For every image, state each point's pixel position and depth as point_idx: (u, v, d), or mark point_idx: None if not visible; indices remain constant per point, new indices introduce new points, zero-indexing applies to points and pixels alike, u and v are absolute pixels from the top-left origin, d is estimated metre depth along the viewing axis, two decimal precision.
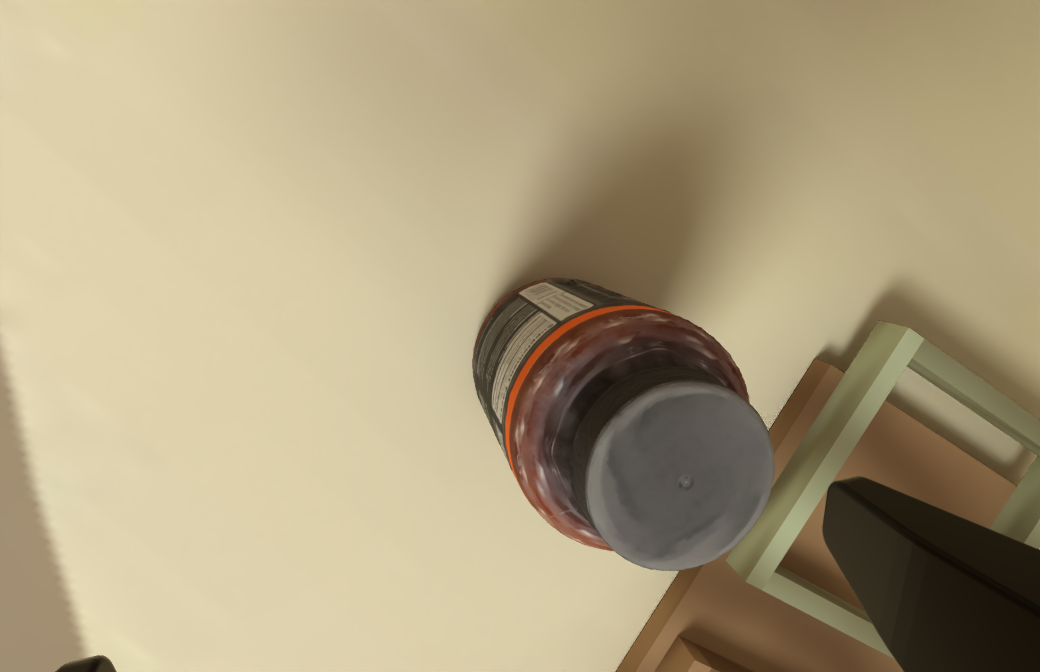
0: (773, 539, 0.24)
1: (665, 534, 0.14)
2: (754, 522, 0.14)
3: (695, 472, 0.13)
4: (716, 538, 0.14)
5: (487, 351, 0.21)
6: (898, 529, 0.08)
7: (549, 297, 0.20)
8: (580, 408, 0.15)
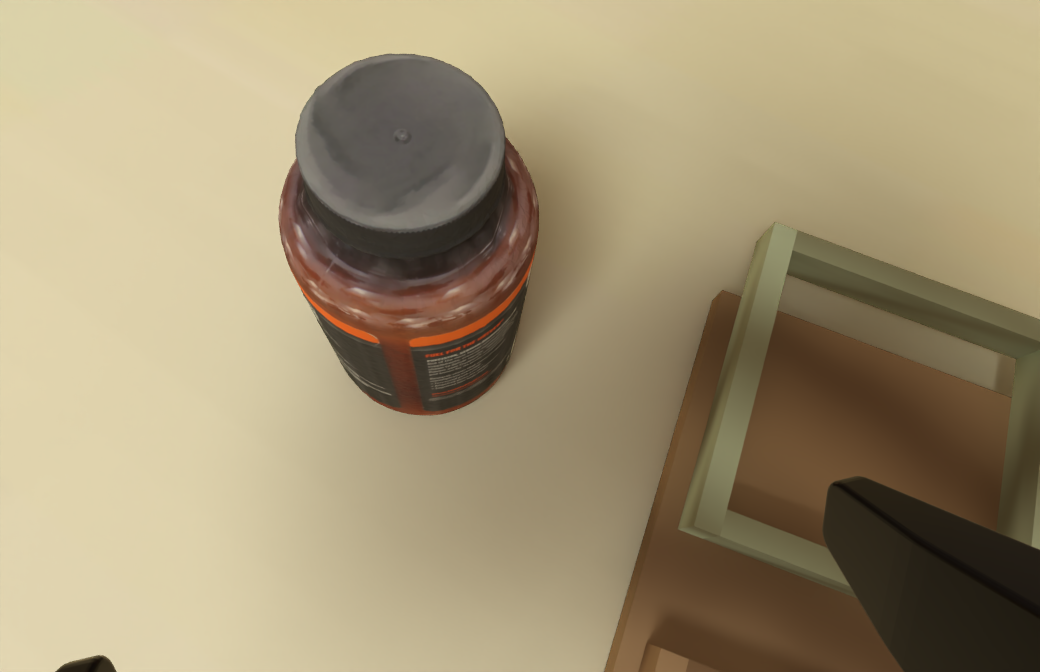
0: (710, 466, 0.20)
1: (389, 187, 0.13)
2: (492, 172, 0.13)
3: (411, 125, 0.13)
4: (450, 187, 0.13)
5: None
6: (898, 529, 0.08)
7: None
8: None
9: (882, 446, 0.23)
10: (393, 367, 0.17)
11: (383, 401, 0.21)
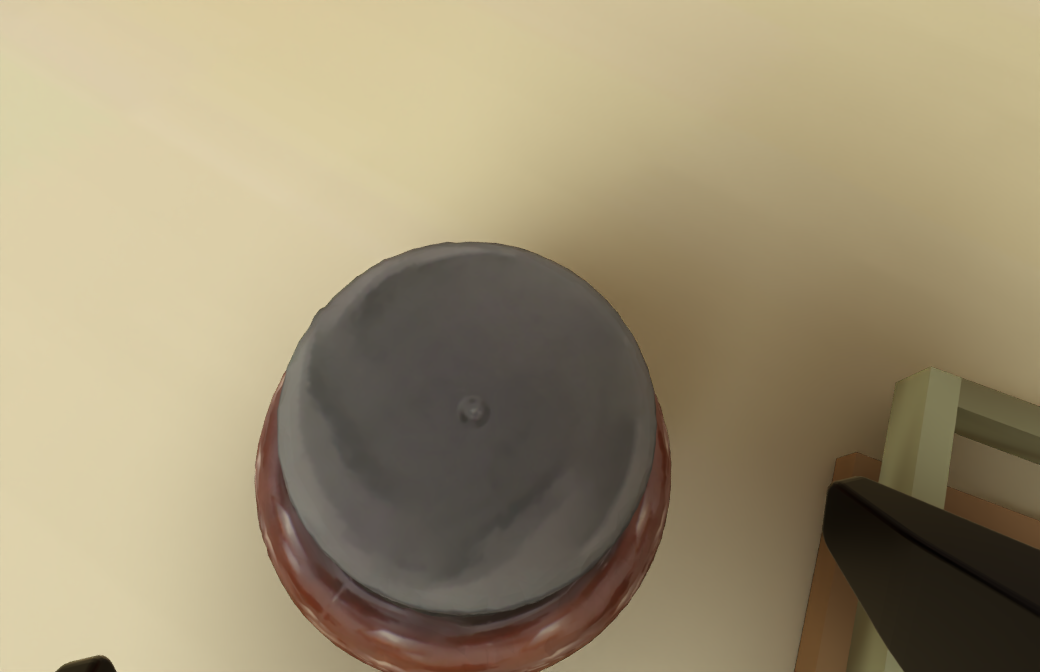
0: None
1: (454, 523, 0.07)
2: (640, 479, 0.07)
3: (489, 389, 0.07)
4: (566, 519, 0.07)
5: None
6: (898, 529, 0.08)
7: None
8: None
9: None
10: None
11: None
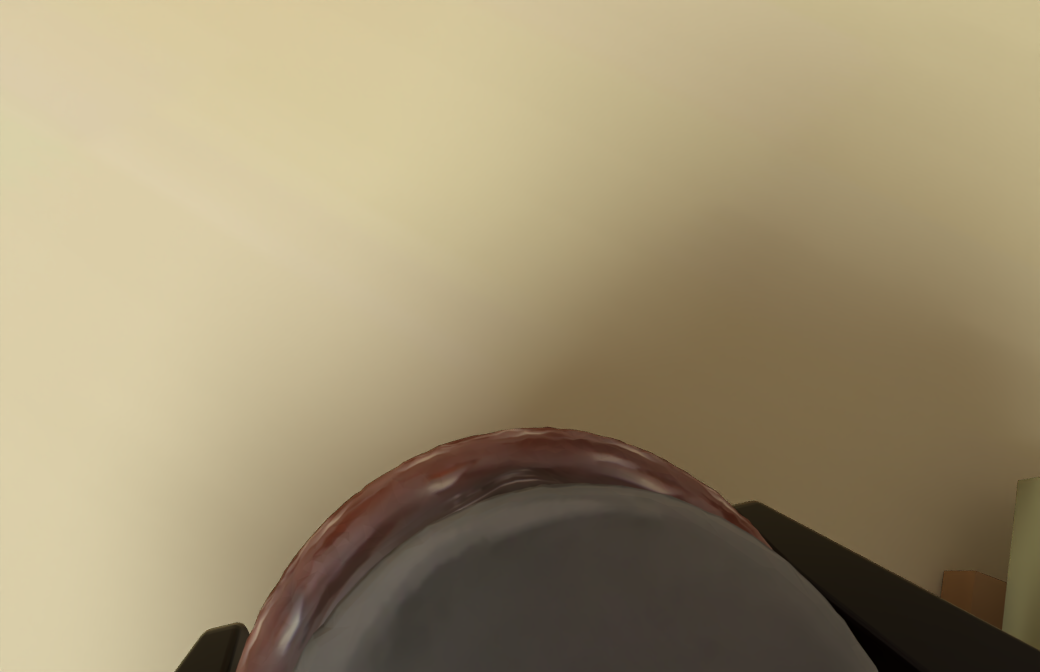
0: None
1: None
2: None
3: None
4: None
5: None
6: None
7: None
8: None
9: None
10: None
11: None
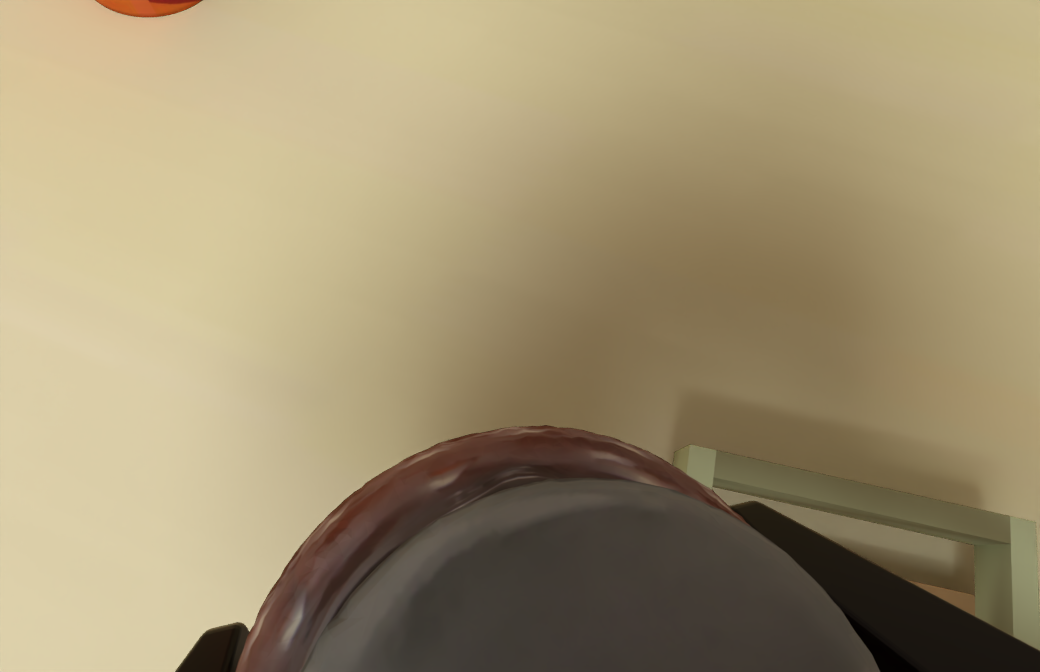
0: None
1: None
2: None
3: None
4: None
5: None
6: None
7: None
8: None
9: None
10: None
11: None
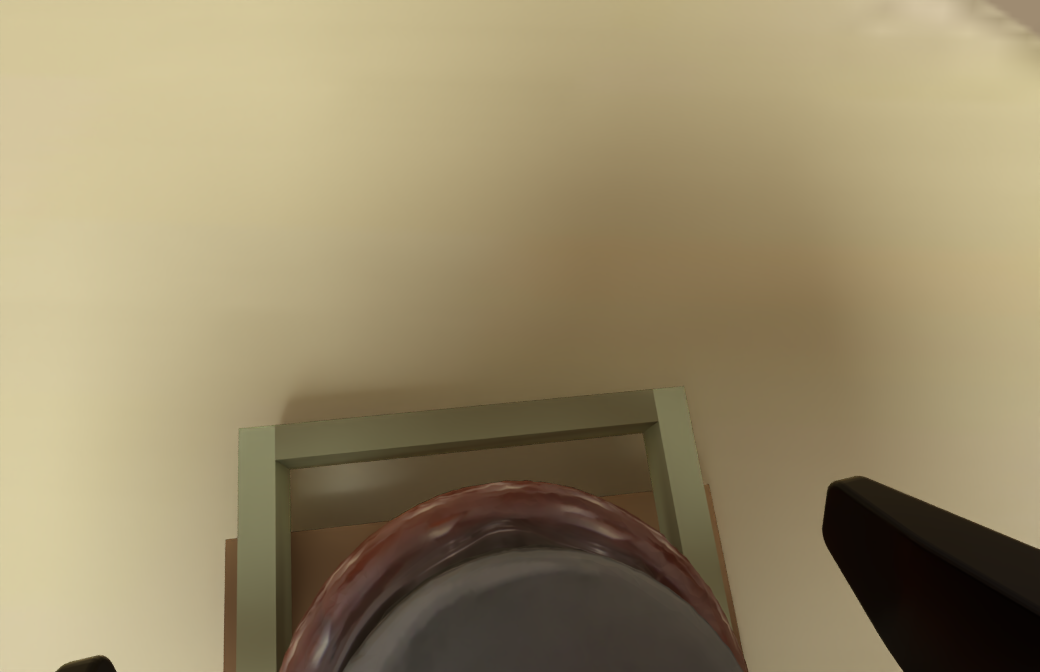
0: None
1: None
2: None
3: None
4: None
5: None
6: (898, 530, 0.08)
7: None
8: None
9: None
10: None
11: None
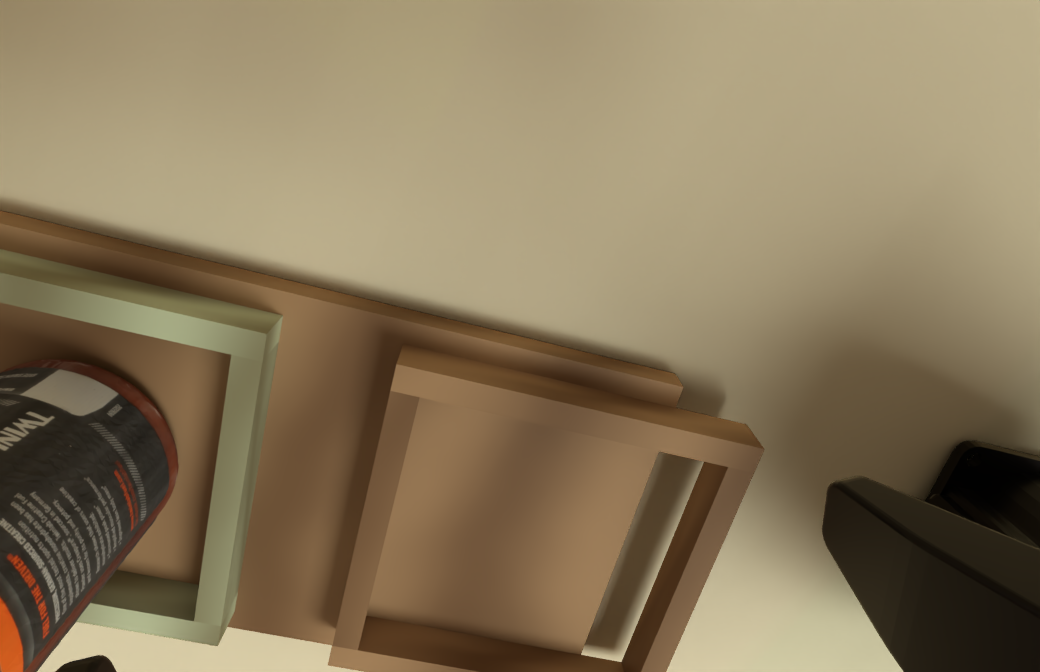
0: (156, 635, 0.21)
1: None
2: None
3: None
4: None
5: None
6: (898, 529, 0.08)
7: None
8: None
9: None
10: (68, 624, 0.16)
11: (145, 532, 0.20)
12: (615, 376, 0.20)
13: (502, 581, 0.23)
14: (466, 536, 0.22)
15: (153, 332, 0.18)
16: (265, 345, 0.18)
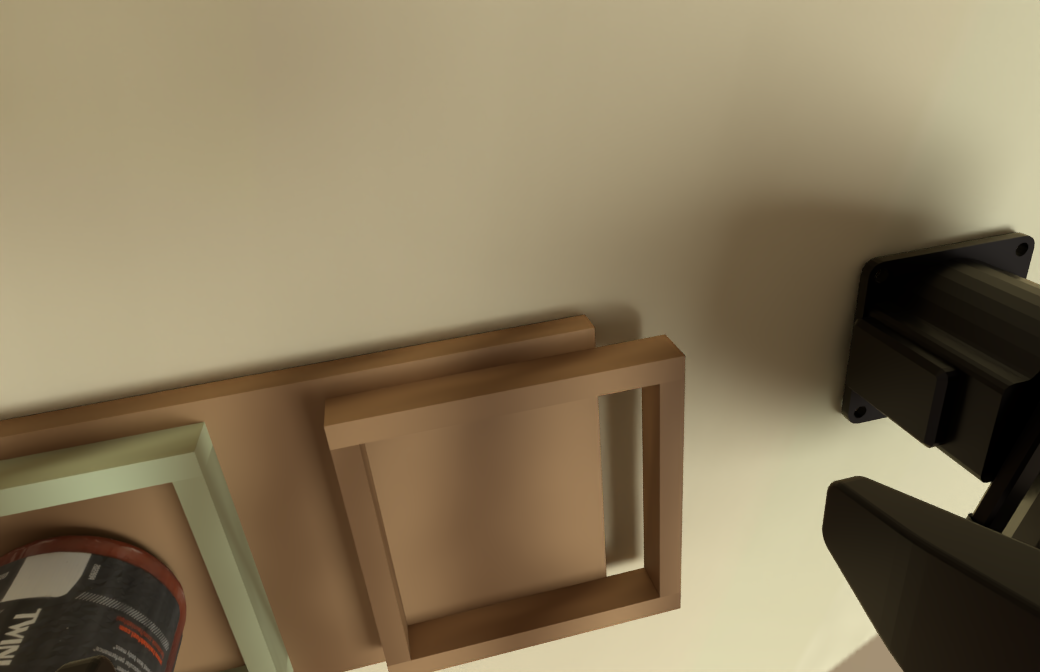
0: None
1: None
2: None
3: None
4: None
5: None
6: (898, 529, 0.08)
7: None
8: None
9: None
10: None
11: None
12: (529, 344, 0.21)
13: (511, 549, 0.24)
14: (462, 529, 0.23)
15: (92, 494, 0.18)
16: (198, 461, 0.19)
